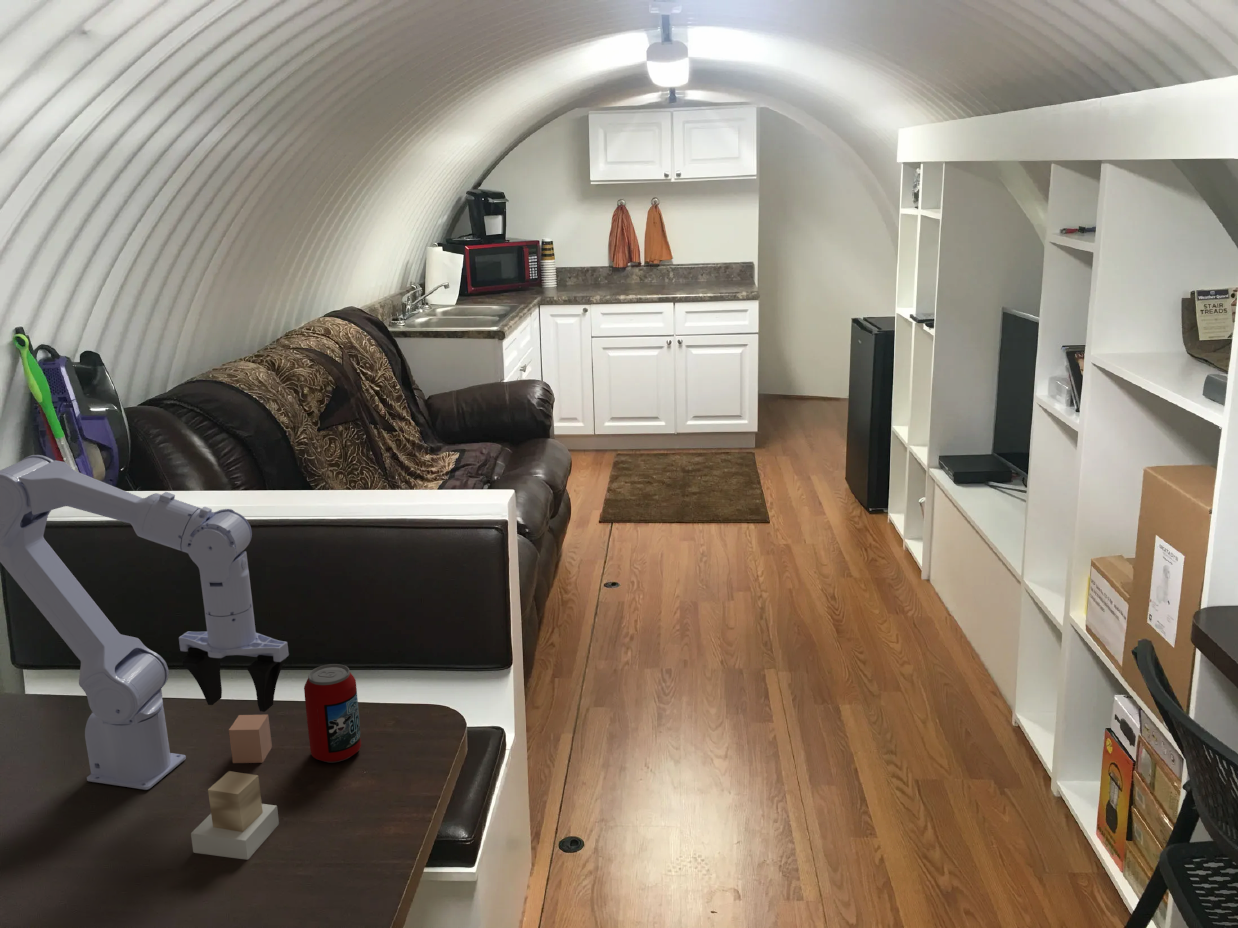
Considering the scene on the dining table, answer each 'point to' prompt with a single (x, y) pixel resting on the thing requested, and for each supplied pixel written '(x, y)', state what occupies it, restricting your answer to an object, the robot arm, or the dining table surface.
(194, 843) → the grey slab
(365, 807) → the dining table surface
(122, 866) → the dining table surface
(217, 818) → the maple block
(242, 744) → the terracotta block
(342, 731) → the beverage can
